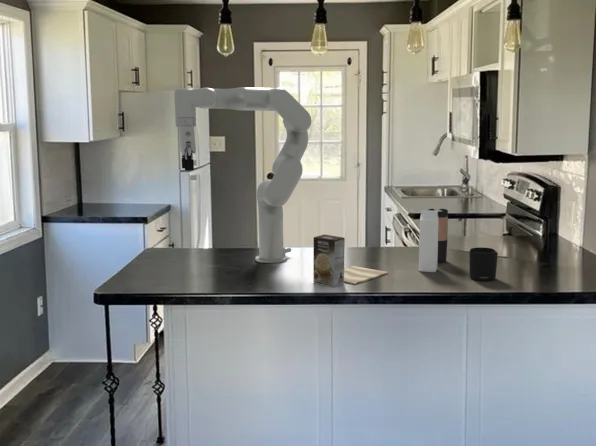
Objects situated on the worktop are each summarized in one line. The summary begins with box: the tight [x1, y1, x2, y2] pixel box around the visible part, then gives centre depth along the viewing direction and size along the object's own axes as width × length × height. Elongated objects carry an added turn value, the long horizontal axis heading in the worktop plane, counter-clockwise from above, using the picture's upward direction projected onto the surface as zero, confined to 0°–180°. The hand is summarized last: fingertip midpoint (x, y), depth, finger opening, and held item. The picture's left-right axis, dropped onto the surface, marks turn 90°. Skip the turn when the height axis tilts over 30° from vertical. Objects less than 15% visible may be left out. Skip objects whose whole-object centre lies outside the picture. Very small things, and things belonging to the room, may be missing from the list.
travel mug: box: [428, 208, 449, 264], centre depth 263 cm, size 8×8×20 cm
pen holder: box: [468, 247, 499, 282], centre depth 237 cm, size 9×9×10 cm
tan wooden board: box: [344, 265, 389, 286], centre depth 243 cm, size 20×16×1 cm
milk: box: [418, 209, 438, 273], centre depth 249 cm, size 6×6×22 cm
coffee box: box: [312, 234, 346, 288], centre depth 231 cm, size 9×6×16 cm
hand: (187, 169), depth 254 cm, fingers open, 9 cm apart
